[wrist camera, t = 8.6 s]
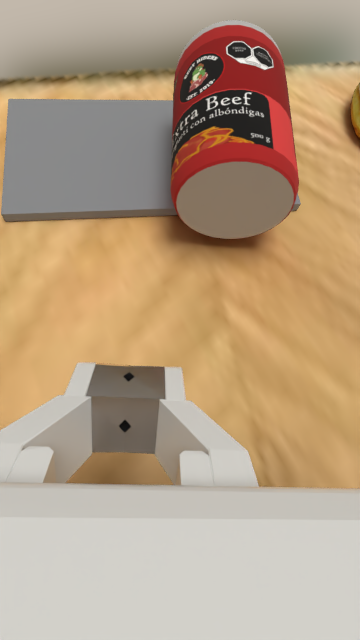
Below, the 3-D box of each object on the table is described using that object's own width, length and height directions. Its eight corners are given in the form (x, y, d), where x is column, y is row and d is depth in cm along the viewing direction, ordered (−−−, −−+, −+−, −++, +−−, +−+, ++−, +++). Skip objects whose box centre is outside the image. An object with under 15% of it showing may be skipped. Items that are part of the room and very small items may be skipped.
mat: (296, 210, 27) (300, 203, 26) (5, 221, 24) (1, 214, 23) (267, 109, 30) (271, 101, 30) (12, 108, 27) (8, 99, 27)
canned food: (143, 195, 20) (152, 68, 24) (215, 253, 26) (213, 144, 30) (265, 127, 15) (252, -16, 19) (318, 216, 21) (300, 93, 25)
